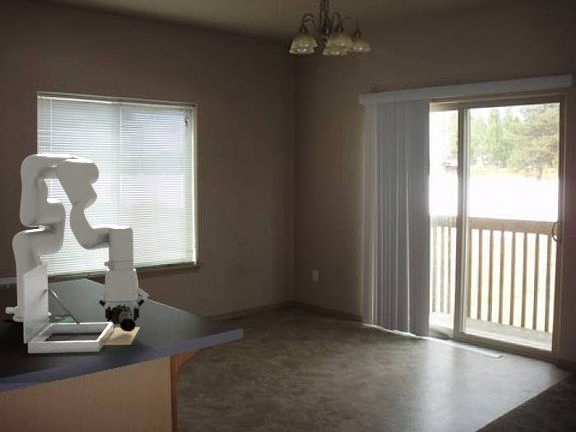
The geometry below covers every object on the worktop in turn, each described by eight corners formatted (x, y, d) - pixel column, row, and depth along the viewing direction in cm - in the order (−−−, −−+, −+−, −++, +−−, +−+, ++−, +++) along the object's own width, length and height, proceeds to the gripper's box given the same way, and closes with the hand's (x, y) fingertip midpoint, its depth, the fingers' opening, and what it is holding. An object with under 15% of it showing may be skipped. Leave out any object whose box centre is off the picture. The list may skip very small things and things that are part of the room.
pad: (103, 345, 189) (103, 343, 189) (115, 328, 209) (115, 327, 209) (130, 344, 190) (130, 343, 190) (139, 328, 209) (139, 326, 209)
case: (24, 353, 180) (22, 274, 179) (47, 332, 203) (45, 262, 202) (99, 351, 182) (97, 273, 181) (113, 331, 205) (112, 261, 204)
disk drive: (35, 325, 216) (52, 332, 205) (35, 317, 216) (52, 324, 205) (65, 320, 223) (82, 327, 212) (65, 312, 223) (82, 319, 212)
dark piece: (136, 331, 190) (135, 313, 190) (113, 333, 188) (112, 315, 187) (131, 318, 207) (130, 301, 206) (110, 320, 205) (109, 303, 204)
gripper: (90, 267, 193) (91, 323, 194) (147, 266, 195) (148, 322, 196) (95, 264, 200) (96, 318, 202) (150, 263, 202) (151, 317, 203)
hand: (122, 319), depth 199 cm, fingers closed on dark piece, 7 cm apart
